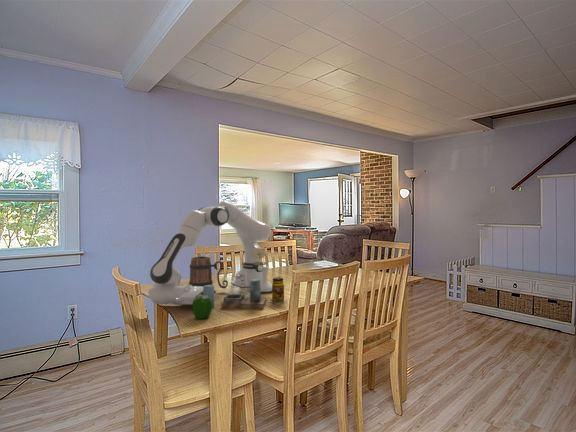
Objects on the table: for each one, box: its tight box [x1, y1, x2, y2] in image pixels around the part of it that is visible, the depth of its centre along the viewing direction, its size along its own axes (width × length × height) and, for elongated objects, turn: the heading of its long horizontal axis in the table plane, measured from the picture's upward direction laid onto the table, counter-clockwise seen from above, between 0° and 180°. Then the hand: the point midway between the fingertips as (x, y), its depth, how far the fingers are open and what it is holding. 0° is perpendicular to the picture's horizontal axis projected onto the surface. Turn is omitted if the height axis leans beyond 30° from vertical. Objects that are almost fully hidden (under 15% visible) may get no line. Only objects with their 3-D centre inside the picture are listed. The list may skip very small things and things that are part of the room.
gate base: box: [220, 279, 267, 310], centre depth 162 cm, size 20×10×12 cm, turn 86°
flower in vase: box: [252, 247, 272, 293], centre depth 191 cm, size 13×11×25 cm
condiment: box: [266, 276, 288, 305], centre depth 170 cm, size 7×8×12 cm
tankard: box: [188, 256, 229, 295], centre depth 189 cm, size 24×17×20 cm
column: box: [203, 284, 215, 309], centre depth 160 cm, size 5×5×10 cm
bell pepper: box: [192, 295, 213, 320], centre depth 144 cm, size 8×8×10 cm
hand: (210, 295), depth 160 cm, fingers closed on column, 5 cm apart
